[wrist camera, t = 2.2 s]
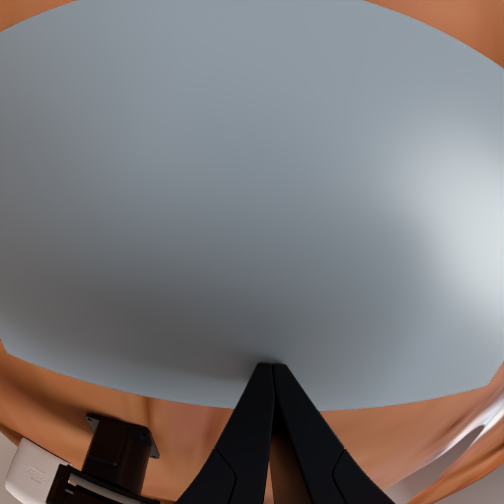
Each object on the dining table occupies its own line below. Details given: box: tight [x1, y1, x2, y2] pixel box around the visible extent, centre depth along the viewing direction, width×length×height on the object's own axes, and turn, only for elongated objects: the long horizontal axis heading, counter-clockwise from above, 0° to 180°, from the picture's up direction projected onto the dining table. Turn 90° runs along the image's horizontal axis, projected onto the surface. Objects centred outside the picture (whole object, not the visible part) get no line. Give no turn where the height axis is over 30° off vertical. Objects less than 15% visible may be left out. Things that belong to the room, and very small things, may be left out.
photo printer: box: [5, 437, 72, 504], centre depth 25 cm, size 10×4×12 cm, turn 58°
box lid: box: [0, 0, 504, 411], centre depth 7 cm, size 12×22×1 cm, turn 84°
